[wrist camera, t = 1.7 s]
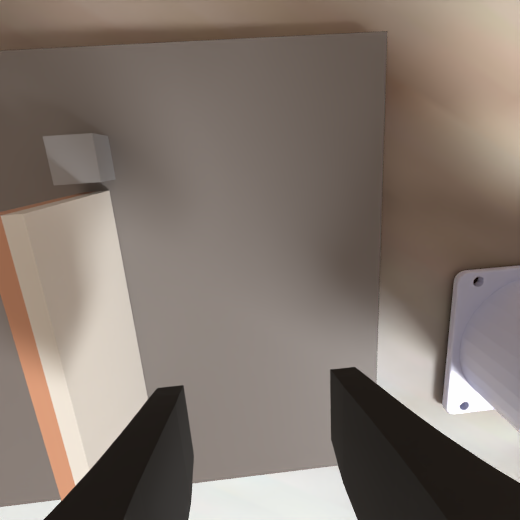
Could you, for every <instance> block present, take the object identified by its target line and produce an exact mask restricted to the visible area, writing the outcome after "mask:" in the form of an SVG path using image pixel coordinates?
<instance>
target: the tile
mask: <svg viewBox="0 0 520 520" xmlns="http://www.w3.org/2000/svg"><path fill="white" fill-rule="evenodd" d="M0 295H1V298H2V301H3V305H4V308H5V312H6V315H7V318H8V322H9V325H10V328H11V332H12V335H13V339H14V342H15V345H16V349H17V352H18V355H19V359H20V362H21V366H22V369H23V372H24V376H25V379H26V383H27V386H28V389H29V393H30V396H31V399H32V403H33V406H34V410H35V413H36V416H37V420H38V423H39V426H40V430H41V433H42V437H43V440H44V443H45V447H46V450H47V454H48V457H49V460H50V464H51V467H52V470H53V474H54V477H55V481H56V484H57V487H58V491H59V494H60V497H61V501H62V500H63V499H64V498H65V497H66V496H67V494H68V493H69V492H70V491H71V490H72V489H73V488H74V487H75V486H76V485H77V483H78V482H79V481H80V480H81V479H82V478H83V477H84V476H85V475H86V474H87V472H88V471H89V470H90V469H91V468H92V467H93V466H94V465H95V463H96V462H97V461H98V460H99V459H100V458H101V456H102V455H103V454H104V453H105V452H106V450H107V449H108V448H109V447H110V446H111V444H112V443H113V442H114V441H115V440H116V439H117V437H118V436H119V435H120V434H121V433H122V431H123V430H124V429H125V428H126V426H127V425H128V424H129V423H130V421H131V420H132V419H133V418H134V416H135V415H136V414H137V413H138V411H139V410H140V409H141V407H142V406H143V405H144V404H145V402H146V401H147V400H148V396H147V391H146V386H145V380H144V375H143V369H142V364H141V359H140V353H139V348H138V342H137V337H136V332H135V326H134V321H133V315H132V310H131V305H130V299H129V294H128V288H127V283H126V278H125V272H124V267H123V261H122V256H121V251H120V245H119V240H118V234H117V229H116V224H115V218H114V213H113V207H112V202H111V197H110V191H109V190H108V191H95V192H82V193H78V194H74V195H70V196H66V197H61V198H57V199H53V200H49V201H45V202H40V203H36V204H32V205H28V206H23V207H19V208H15V209H11V210H7V211H2V212H0Z"/></svg>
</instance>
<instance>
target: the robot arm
mask: <svg viewBox="0 0 520 520" xmlns="http://www.w3.org/2000/svg"><path fill="white" fill-rule="evenodd" d="M476 277H478V281H477V282H476V283H475V284H473V281H474V279H475V278H476ZM462 402H464V403H462ZM330 403H331V441H332V445H333V448H334V452H335V456H336V459H337V463H338V466H339V470H340V473H341V477H342V480H343V483H344V486H345V489H346V491H347V494H348V496H349V499H350V501H351V504H352V507H353V509H354V512H355V514H356V517H357V519H358V520H520V483H519V482H517V481H516V480H514V479H512V478H510V477H509V476H507V475H505V474H504V473H502V472H500V471H499V470H497V469H495V468H494V467H492V466H491V465H489V464H487V463H486V462H484V461H483V460H481V459H480V458H478V457H477V456H475V455H474V454H472V453H471V452H469V451H468V450H466V449H465V448H463V447H462V446H460V445H459V444H457V443H456V442H454V441H453V440H451V439H450V438H448V437H447V436H445V435H444V434H442V433H441V432H440V431H438V430H437V429H435V428H434V427H433V426H431V425H430V424H428V423H427V422H426V421H424V420H423V419H422V418H420V417H419V416H418V415H416V414H415V413H414V412H412V411H411V410H410V409H408V408H407V407H406V406H404V405H403V404H402V403H400V402H399V401H398V400H396V399H395V398H394V397H393V396H391V395H390V394H389V393H388V392H386V391H385V390H384V389H382V388H381V387H380V386H379V385H377V384H376V383H375V382H374V381H372V380H371V379H370V378H369V377H367V376H366V375H365V374H364V373H362V372H361V371H360V370H358V369H357V368H356V367H349V368H340V369H330ZM461 403H462V404H461ZM460 404H461V405H460ZM442 405H443V408H444V409H445V410H446V411H447V412H448V413H450V414H459V413H468V412H476V411H485V410H494V409H495V410H496V411H497V412H498V413H500V414H501V415H502V416H503V417H504V418H505V419H506V420H507V421H508V422H509V423H510V424H511V425H512V426H513V427H514V428H515V429H516V430H517V431H518V432H520V265H518V266H507V267H497V268H486V269H475V270H465V271H461V272H460V273H458V274H457V275H456V277H455V279H454V285H453V296H452V306H451V317H450V327H449V338H448V348H447V359H446V370H445V380H444V391H443V401H442ZM193 464H194V452H193V445H192V438H191V432H190V425H189V418H188V412H187V405H186V398H185V392H184V385H180V386H171V387H162V388H157V389H156V390H155V391H154V392H153V394H152V395H151V396H150V397H149V399H148V400H147V401H146V402H145V404H144V405H143V406H142V407H141V409H140V410H139V411H138V413H137V414H136V415H135V416H134V418H133V419H132V420H131V421H130V423H129V424H128V425H127V426H126V428H125V429H124V430H123V431H122V433H121V434H120V435H119V436H118V437H117V439H116V440H115V441H114V442H113V443H112V444H111V446H110V447H109V448H108V449H107V450H106V452H105V453H104V454H103V455H102V456H101V458H100V459H99V460H98V461H97V462H96V463H95V465H94V466H93V467H92V468H91V469H90V470H89V471H88V472H87V474H86V475H85V476H84V477H83V478H82V479H81V480H80V481H79V482H78V483H77V485H76V486H75V487H74V488H73V489H72V490H71V491H70V492H69V493H68V494H67V496H66V497H65V498H64V499H63V500H62V501H61V502H60V503H59V504H58V505H57V506H56V507H55V508H54V510H53V511H52V512H51V513H50V514H49V515H48V516H47V517H46V518H45V519H44V520H188V518H189V511H190V505H191V495H192V481H193Z"/></svg>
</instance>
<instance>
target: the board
mask: <svg viewBox="0 0 520 520" xmlns="http://www.w3.org/2000/svg"><path fill="white" fill-rule="evenodd" d="M386 57H387V31H382V32H362V33H342V34H323V35H303V36H283V37H263V38H243V39H223V40H203V41H183V42H163V43H143V44H123V45H103V46H83V47H63V48H43V49H23V50H3V51H0V212H2V211H7V210H11V209H15V208H19V207H23V206H28V205H32V204H36V203H40V202H45V201H49V200H53V199H57V198H61V197H66V196H70V195H74V194H78V193H82V192H95V191H108V190H109V191H110V197H111V202H112V207H113V213H114V218H115V224H116V229H117V234H118V240H119V245H120V251H121V256H122V261H123V267H124V272H125V278H126V283H127V288H128V294H129V299H130V305H131V310H132V315H133V321H134V326H135V332H136V337H137V342H138V348H139V353H140V359H141V364H142V369H143V375H144V380H145V386H146V391H147V396H148V399H149V397H150V396H151V395H152V394H153V392H154V391H155V390H156V389H157V388H162V387H171V386H180V385H184V392H185V398H186V405H187V412H188V418H189V425H190V432H191V438H192V445H193V452H194V464H193V481H192V483H199V482H207V481H215V480H223V479H231V478H239V477H247V476H256V475H264V474H272V473H280V472H288V471H296V470H304V469H313V468H321V467H329V466H337V465H338V463H337V459H336V456H335V452H334V448H333V445H332V441H331V403H330V369H340V368H349V367H356V368H357V369H358V370H360V371H361V372H362V373H364V374H365V375H366V376H367V377H369V378H370V379H371V380H372V381H374V382H375V383H376V380H377V348H378V315H379V283H380V251H381V219H382V186H383V154H384V122H385V90H386ZM60 499H61V497H60V494H59V491H58V487H57V484H56V481H55V477H54V474H53V470H52V467H51V464H50V460H49V457H48V454H47V450H46V447H45V443H44V440H43V437H42V433H41V430H40V426H39V423H38V420H37V416H36V413H35V410H34V406H33V403H32V399H31V396H30V393H29V389H28V386H27V383H26V379H25V376H24V372H23V369H22V366H21V362H20V359H19V355H18V352H17V349H16V345H15V342H14V339H13V335H12V332H11V328H10V325H9V322H8V318H7V315H6V312H5V308H4V305H3V301H2V298H1V295H0V507H3V506H11V505H20V504H28V503H36V502H44V501H52V500H60Z"/></svg>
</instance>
